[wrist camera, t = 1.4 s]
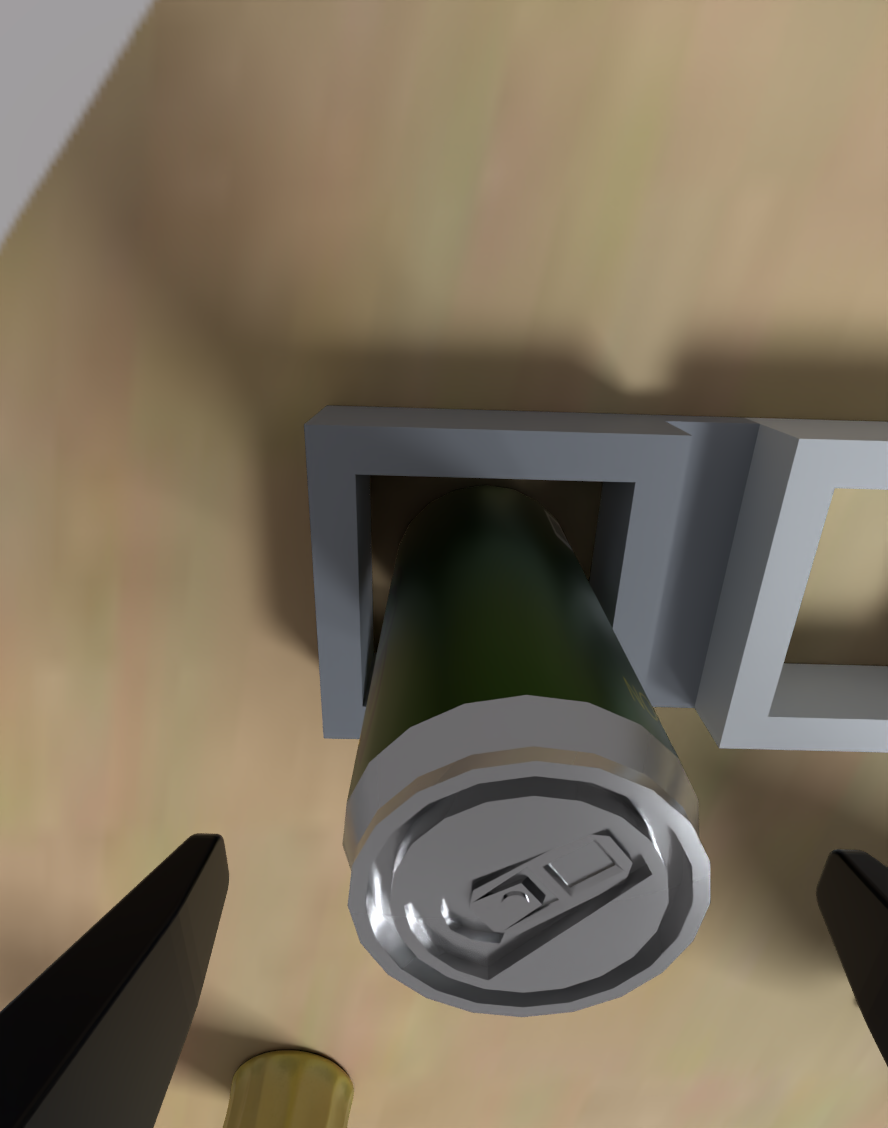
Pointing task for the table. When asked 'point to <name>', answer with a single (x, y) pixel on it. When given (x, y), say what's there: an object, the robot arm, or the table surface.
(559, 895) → the beer can
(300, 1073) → the vase
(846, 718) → the grey double square frame
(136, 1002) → the robot arm
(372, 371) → the table surface
